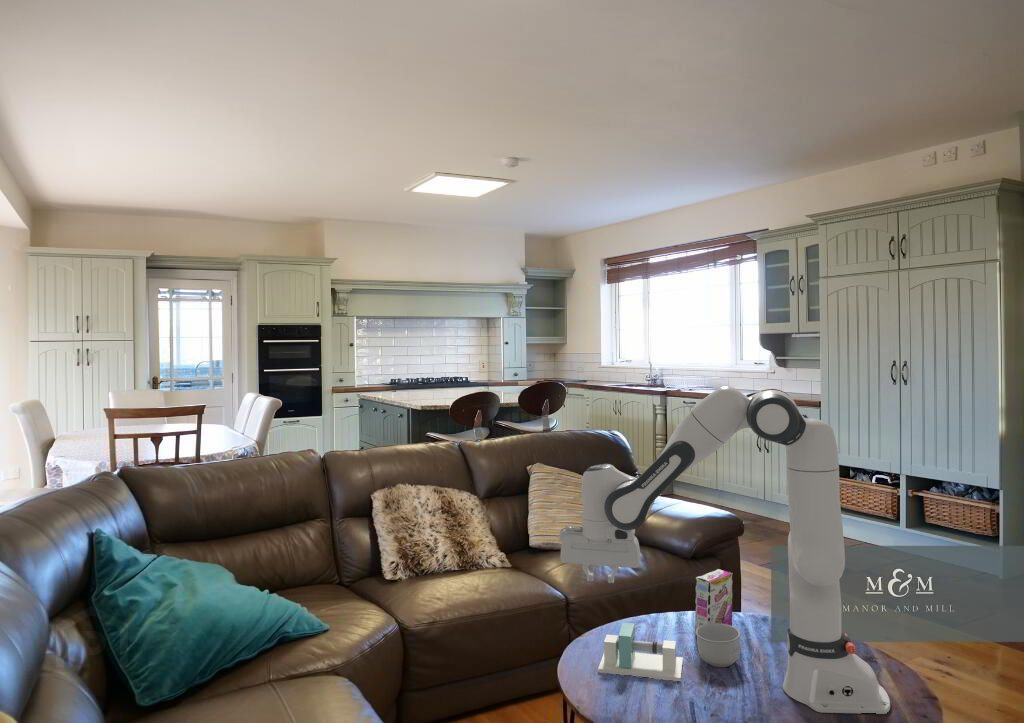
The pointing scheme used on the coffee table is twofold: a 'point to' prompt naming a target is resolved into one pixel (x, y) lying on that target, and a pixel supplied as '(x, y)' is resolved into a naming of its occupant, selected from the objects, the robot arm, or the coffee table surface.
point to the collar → (626, 645)
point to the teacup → (718, 644)
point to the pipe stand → (643, 659)
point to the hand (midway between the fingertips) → (600, 581)
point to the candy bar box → (714, 598)
